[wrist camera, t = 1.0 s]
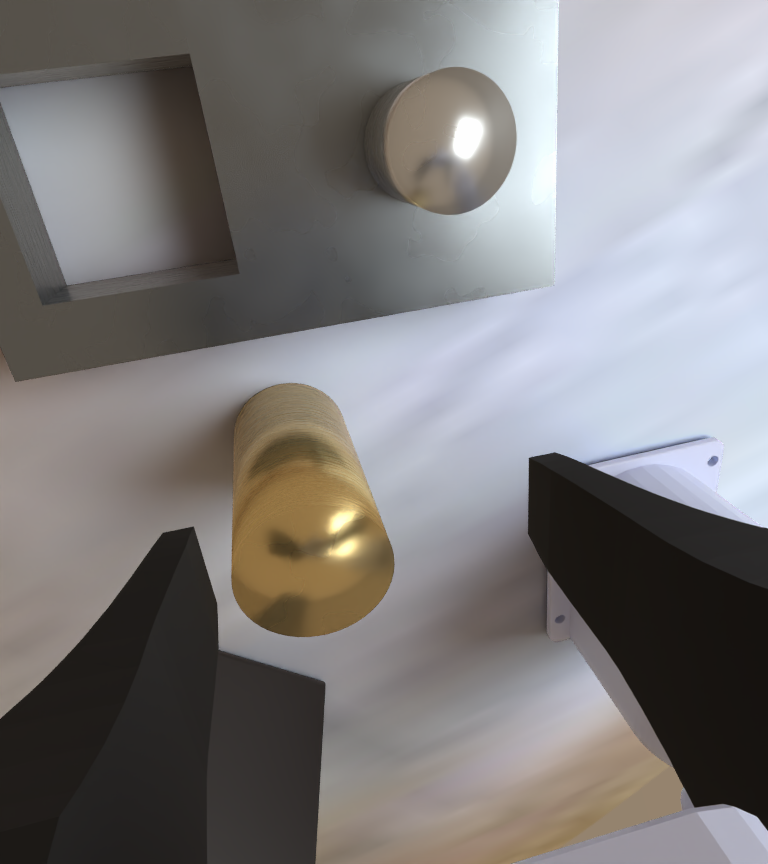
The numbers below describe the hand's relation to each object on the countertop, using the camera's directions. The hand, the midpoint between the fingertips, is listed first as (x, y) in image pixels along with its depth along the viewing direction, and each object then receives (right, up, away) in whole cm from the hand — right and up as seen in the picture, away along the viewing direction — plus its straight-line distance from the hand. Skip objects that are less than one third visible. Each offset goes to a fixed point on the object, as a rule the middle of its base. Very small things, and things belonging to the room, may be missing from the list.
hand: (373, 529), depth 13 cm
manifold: (-3, +10, +5) cm, 12 cm away
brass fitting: (-3, +2, +9) cm, 10 cm away
